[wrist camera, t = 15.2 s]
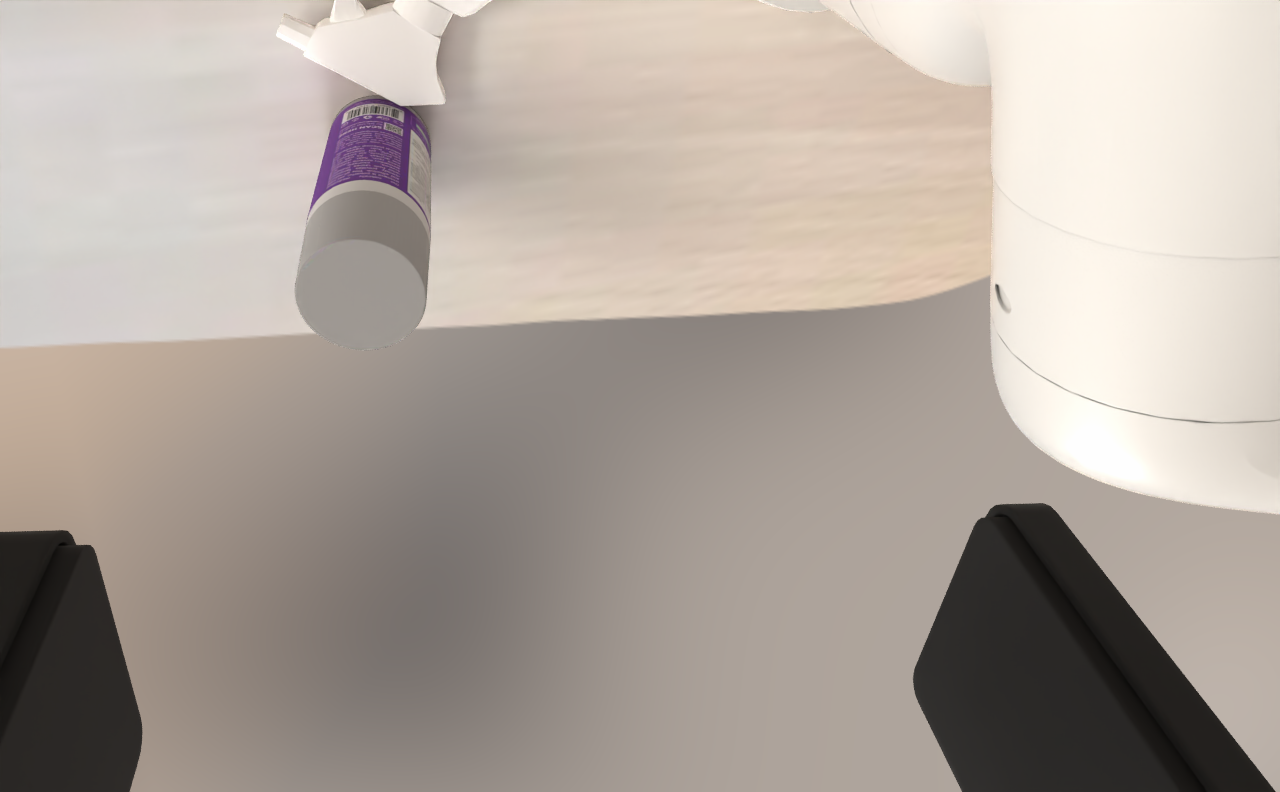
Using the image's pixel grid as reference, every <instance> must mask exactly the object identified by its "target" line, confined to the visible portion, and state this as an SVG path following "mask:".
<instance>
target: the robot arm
mask: <svg viewBox="0 0 1280 792" xmlns="http://www.w3.org/2000/svg"><path fill="white" fill-rule="evenodd" d="M758 1H760V2H762V3H764V4H767V5H770V6H774V7H777V8H780V9H783V10H786V11H798V12H810V13H812V12H820V11H828V10H832V11H833V12H835V13H836V14H837V15H839V16H840V17H841V18H843V19H844V20H846V21H847V22H848V23H850V24H851V25H852V26H854V27H855V28H856V29H858V30H859V31H861V32H862V33H863V34H865V35H866V36H867V37H869V38H870V39H872V40H873V41H874V42H876V43H877V44H878V45H880V46H881V47H882V48H884V49H885V50H887V51H888V52H889V53H891V54H893V55H895V56H896V57H898V58H899V59H900V60H902V61H903V62H905V63H906V64H908V65H909V66H911V67H913V68H914V69H916V70H918V71H920V72H922V73H924V74H926V75H928V76H930V77H932V78H935V79H938V80H941V81H944V82H947V83H951V84H956V85H962V86H972V87H990V86H991V93H992V128H991V171H992V175H993V207H992V250H991V292H990V293H991V295H990V311H991V322H990V324H991V325H990V335H991V353H992V366H993V372H994V377H995V381H996V385H997V388H998V391H999V394H1000V397H1001V400H1002V402H1003V404H1004V406H1005V408H1006V410H1007V411H1008V413H1009V415H1010V417H1011V418H1012V420H1013V422H1014V423H1015V424H1016V426H1017V427H1018V428H1019V429H1020V430H1021V431H1022V432H1023V434H1024V435H1025V436H1026V437H1027V438H1028V439H1029V440H1030V441H1031V442H1032V443H1034V444H1035V445H1036V446H1037V447H1038V448H1039V449H1041V450H1042V451H1044V452H1045V453H1046V454H1048V455H1049V456H1051V457H1052V458H1054V459H1055V460H1057V461H1058V462H1060V463H1061V464H1063V465H1065V466H1067V467H1069V468H1071V469H1073V470H1075V471H1077V472H1079V473H1081V474H1083V475H1085V476H1088V477H1090V478H1093V479H1095V480H1098V481H1100V482H1103V483H1106V484H1109V485H1112V486H1115V487H1118V488H1122V489H1125V490H1128V491H1132V492H1136V493H1139V494H1144V495H1149V496H1153V497H1157V498H1163V499H1168V500H1173V501H1178V502H1183V503H1189V504H1196V505H1204V506H1210V507H1218V508H1225V509H1233V510H1242V511H1252V512H1261V513H1270V514H1279V515H1280V0H758ZM913 683H914V690H915V695H916V698H917V700H918V703H919V705H920V707H921V709H922V711H923V713H924V715H925V717H926V719H927V721H928V723H929V725H930V727H931V729H932V731H933V733H934V735H935V737H936V739H937V741H938V743H939V745H940V747H941V749H942V751H943V754H944V756H945V758H946V760H947V762H948V764H949V766H950V768H951V770H952V772H953V774H954V776H955V778H956V780H957V782H958V784H959V786H960V788H961V790H962V792H1275V790H1274V789H1273V788H1272V787H1271V785H1270V784H1269V783H1268V781H1267V780H1266V779H1265V778H1264V776H1263V775H1262V774H1261V772H1260V771H1259V770H1258V769H1257V767H1256V766H1255V765H1254V764H1253V762H1252V761H1251V760H1250V758H1249V757H1248V756H1247V755H1246V753H1245V752H1244V751H1243V749H1242V748H1241V747H1240V746H1239V745H1238V743H1237V742H1236V741H1235V739H1234V738H1233V737H1232V735H1231V734H1230V733H1229V732H1228V731H1227V729H1226V728H1225V727H1224V725H1223V724H1222V723H1221V721H1220V720H1219V719H1218V718H1217V716H1216V715H1215V714H1214V713H1213V711H1212V710H1211V709H1210V708H1209V706H1208V705H1207V704H1206V702H1205V701H1204V700H1203V699H1202V697H1201V696H1200V695H1199V693H1198V692H1197V691H1196V689H1195V688H1194V687H1193V686H1192V684H1191V683H1190V682H1189V681H1188V679H1187V678H1186V677H1185V675H1184V674H1183V673H1182V672H1181V671H1180V669H1179V668H1178V667H1177V665H1176V664H1175V663H1174V661H1173V660H1172V659H1171V658H1170V656H1169V655H1168V654H1167V653H1166V651H1165V650H1164V649H1163V647H1162V646H1161V645H1160V644H1159V643H1158V641H1157V640H1156V638H1155V637H1154V636H1153V635H1152V633H1151V632H1150V631H1149V630H1148V628H1147V627H1146V626H1145V625H1144V623H1143V622H1142V621H1141V619H1140V618H1139V617H1138V616H1137V615H1136V613H1135V612H1134V610H1133V609H1132V608H1131V607H1130V605H1129V604H1128V603H1127V601H1126V600H1125V599H1124V598H1123V596H1122V595H1121V594H1120V593H1119V591H1118V590H1117V589H1116V587H1115V586H1114V585H1113V584H1112V582H1111V581H1110V580H1109V579H1108V577H1107V576H1106V575H1105V574H1104V572H1103V571H1102V570H1101V568H1100V567H1099V566H1098V565H1097V563H1096V562H1095V561H1094V559H1093V558H1092V557H1091V555H1090V554H1089V553H1088V552H1087V550H1086V549H1085V548H1084V547H1083V545H1082V544H1081V543H1080V542H1079V540H1078V539H1077V538H1076V537H1075V535H1074V534H1073V533H1072V531H1071V530H1070V529H1069V527H1068V526H1067V525H1066V524H1065V522H1064V521H1063V520H1062V518H1061V517H1060V516H1059V515H1058V513H1057V512H1056V511H1055V510H1054V509H1053V508H1052V507H1051V506H1049V505H1046V504H1043V503H1038V504H1003V505H996V506H994V507H993V508H991V509H990V511H989V512H988V514H987V516H986V517H985V518H981V519H979V520H978V521H977V523H976V524H975V526H974V528H973V530H972V533H971V535H970V537H969V540H968V542H967V544H966V547H965V550H964V552H963V554H962V556H961V559H960V561H959V564H958V566H957V568H956V571H955V573H954V576H953V578H952V580H951V583H950V585H949V588H948V590H947V592H946V595H945V597H944V599H943V602H942V604H941V607H940V609H939V611H938V614H937V616H936V619H935V621H934V623H933V626H932V628H931V631H930V633H929V636H928V638H927V640H926V643H925V645H924V647H923V650H922V652H921V655H920V657H919V660H918V662H917V664H916V667H915V670H914V676H913ZM141 744H142V722H141V717H140V714H139V710H138V706H137V703H136V699H135V695H134V691H133V688H132V684H131V680H130V677H129V673H128V670H127V666H126V662H125V658H124V655H123V651H122V648H121V644H120V640H119V636H118V633H117V629H116V625H115V622H114V618H113V614H112V611H111V607H110V603H109V600H108V596H107V593H106V589H105V585H104V582H103V578H102V574H101V571H100V567H99V563H98V560H97V556H96V553H95V550H94V548H93V547H92V546H91V545H76V543H75V541H74V539H73V537H72V535H71V534H70V533H69V532H68V531H63V530H59V531H27V532H26V531H24V532H23V531H22V532H0V792H129V791H130V788H131V785H132V781H133V778H134V774H135V771H136V767H137V764H138V760H139V756H140V752H141Z"/></svg>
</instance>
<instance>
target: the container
mask: <svg viewBox="0 0 1280 792" xmlns="http://www.w3.org/2000/svg"><path fill="white" fill-rule="evenodd" d="M430 241H431V143H430V137H429V133H428V130H427V128H426V126H425V124H424V122H423V121H422V119H421V118H420V117H419V115H418V114H417V113H416V112H415V111H414V110H413V109H412V108H410V107H409V106H400V105H398V104H396V103H394V102H392V101H390V100H388V99H386V98H384V97H382V96H367V97H362V98H359V99H357V100H354V101H352V102H351V103H349V104H347V105H346V106H345V107H344V108H343V109H342V110H341V111H340V112H339V113H338V114H337V116H336V118H335V119H334V121H333V124H332V127H331V130H330V133H329V137H328V141H327V145H326V149H325V152H324V156H323V160H322V164H321V168H320V172H319V176H318V180H317V183H316V187H315V191H314V195H313V199H312V203H311V207H310V210H309V214H308V218H307V223H306V230H305V235H304V240H303V246H302V251H301V256H300V262H299V267H298V272H297V278H296V283H295V299H296V303H297V306H298V309H299V311H300V314H301V315H302V317H303V319H304V320H305V322H306V323H307V324H308V325H309V327H310V328H311V329H312V330H313V331H314V332H316V333H317V334H318V335H319V336H321V337H322V338H324V339H325V340H327V341H329V342H331V343H333V344H336V345H338V346H341V347H344V348H348V349H355V350H376V349H381V348H385V347H388V346H391V345H393V344H396V343H398V342H400V341H401V340H403V339H404V338H406V337H407V336H408V335H409V334H411V333H412V332H413V331H414V329H415V328H416V327H417V326H418V324H419V323H420V321H421V319H422V317H423V314H424V311H425V307H426V298H427V284H428V269H429V254H430Z"/></svg>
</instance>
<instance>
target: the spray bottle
mask: <svg viewBox="0 0 1280 792" xmlns="http://www.w3.org/2000/svg"><path fill="white" fill-rule="evenodd" d="M490 1H492V0H395V1H394V3H393V2H391V3H387V4H384V5H381V6H377V7H374V8H371V9H367V10H366V9H365V8H364V6H363V5H362V4H361V3H360V1H359V0H334V4H333V8H332V12H331V16H330V17H329V18H324V19H322V20H321V21H320V22H319V23H318V24H317V25H316V27H315V26H312V25H310V24H308V23H305V22H303V21H301V20H298V19H296V18H294V17H291V16H289V15H287V14H285V13H284V15H283V18H282V20H281V23H280V26H279V28H278V31H277V34H276V36H277V37H279V38H281V39H283V40H285V41H286V42H288V43H290V44H292V45H294V46H296V47H298V48H300V49H302V50H304V51H305V52H304V55H303V56H305V57H307V58H309V59H310V60H312V61H314V62H316V63H318V64H320V65H322V66H324V67H326V68H328V69H330V70H332V71H334V72H336V73H338V74H340V75H342V76H344V77H345V78H347V79H349V80H351V81H353V82H355V83H357V84H359V85H361V86H363V87H365V88H367V89H369V90H371V91H373V92H375V93H377V94H378V95H380V96H382V97H384V98H386V99H388V100H390V101H392V102H394V103H396V104H398V105H400V106H414V105H438V104H444V103H445V101H446V93H445V90H444V88H443V85H442V83H441V81H440V78H439V76H438V73H437V65H436V58H437V54H438V50H439V46H440V41H441V36H442V34H443V32H444V30H445V28H446V26H447V25H448V23H449V21H450V19H451V17H452V15H453V13H454V14H457V15H459V16H461V17H466V16H469V15H472V14H474V13H476V12H477V11H478V10H480V9H481V8H482V7H484V6H485V5H486V4H488V3H489V2H490Z"/></svg>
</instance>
